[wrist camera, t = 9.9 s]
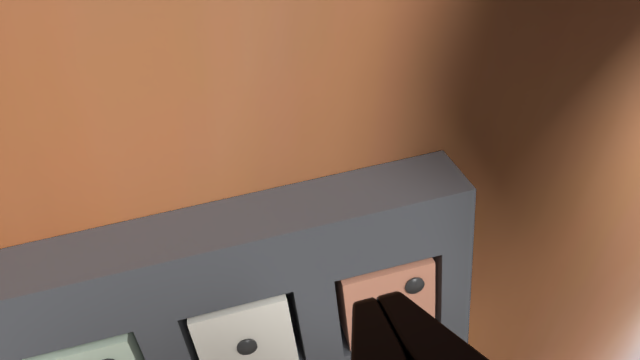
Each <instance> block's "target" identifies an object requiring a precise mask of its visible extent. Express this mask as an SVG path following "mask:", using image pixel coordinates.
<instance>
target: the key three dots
mask: <svg viewBox="0 0 640 360" xmlns="http://www.w3.org/2000/svg"><path fill="white" fill-rule="evenodd" d="M334 284H335V291H336V299H337V307H338V314H339V320H340V323H341V326H342V328H343V331H344V334H345V337H346V340H347V342H348V345H349V348H350V351H351V332H352V306H353V303H354V302H356V301H359V300H363V299H367V298H371V297H373V298H375V299H377V297H378V296H379V295H383V294H387V293H391V292H395V291H399V292H401V293H403V294H404V295H405V296H407V297H408V298H409V299H411V300H412V301H413V302H414V303H416V304H417V305H418V306H420V307H421V308H422V309H424V310H425V311H426V312H427V313H429V314H430V315H431V316H433V317H434V318H435V261H434V260H433V258H432V257H431V258H427V259H423V260H419V261H415V262H411V263H407V264H403V265H399V266H395V267H391V268H387V269H383V270H379V271H375V272H371V273H367V274H363V275H359V276H355V277H351V278H347V279H343V280H339V281H335V282H334Z"/></svg>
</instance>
